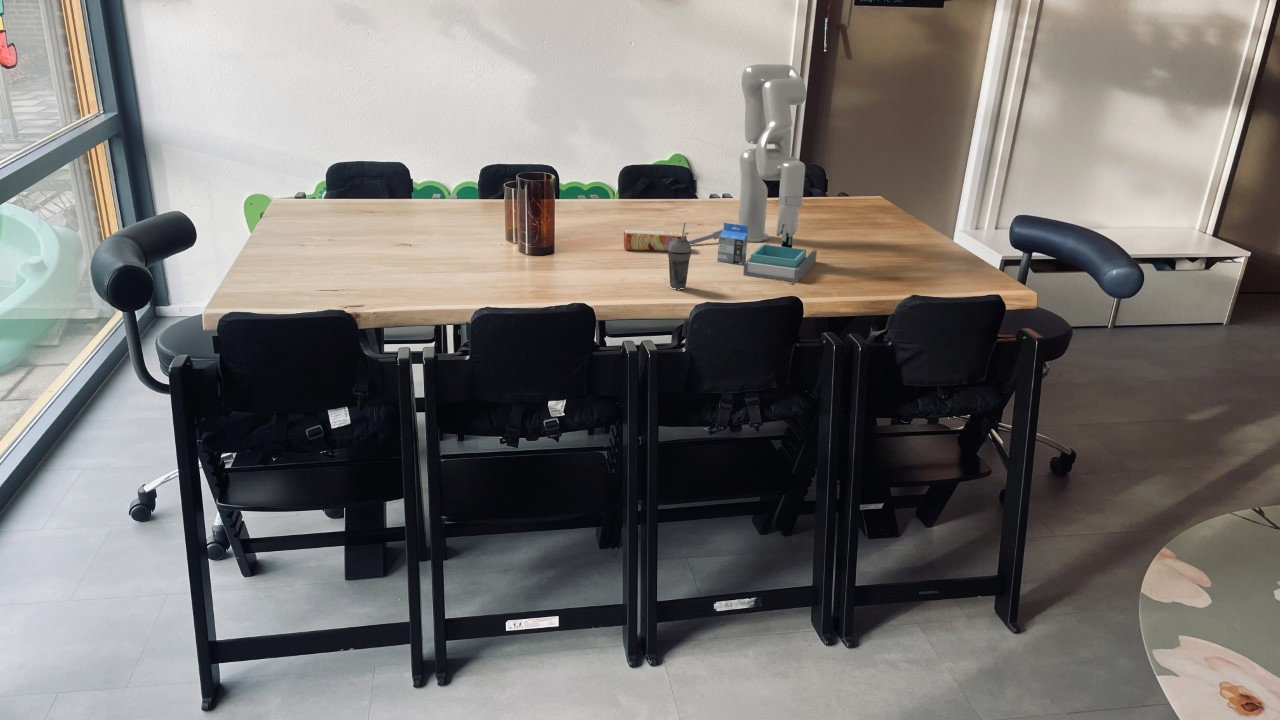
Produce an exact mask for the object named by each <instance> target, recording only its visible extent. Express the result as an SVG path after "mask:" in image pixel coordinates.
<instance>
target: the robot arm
mask: <svg viewBox="0 0 1280 720" xmlns="http://www.w3.org/2000/svg"><path fill="white" fill-rule="evenodd" d="M741 89H742V93H743V97H744V101H745V102H744V104H745V107H744V108H745V114H744V138H745V140H746V142H747V143H748V144H751V145H756V148H749V149H746V150H744V151H742V153H741V154H740V156H739V170H740V192H739V193H740V195H739V206H738V207H739V208H738V220H737V221H738V223H736V224H737V225H744V226H748V238H747V243H748V242H751V243H760V242H765V241H768V240H769V239H770V238H769V237H770V236H769V234H768V233H766V232H765V230H766V229H765V228H766V218H767V204H768V193H769V191H768V187H767V184H766V183H765V182H764V181H779V190H778V191H779V192H778V193H779V194H778V206H779V211H778V217H777V225H776V236H777V237H780V236H781V245H780V246H781V247H789V248H793V239H794V235H795V234H796V233H797V232H798V226H799V216H800V215H799V214H800V212H799V211H800V207H802V206H803V200H804V199H803V198H804V196H803V195H804V188H805V187H804V186H805V185H804V184H805V175H806V165H805V164H804V163H805V162H802V161H800V159H799V158H797V157H795V156H791V145H792V144H791V143H792V125H793V118H792V113H791V111H792V110H791V106H801V105H802V104H804V103H805V101H806V98H807V87H806V84H805V81H804V79H803V78H802V76H801V75H800V74H799V72H798V71H797V69H796V68H795V67H794V66H793V65H790V64H772V63H769V64H766V63H765V64H763V63H762V64H761V63H760V64H751V65H748V66H747V67H745V68H744V70H743V72H742V75H741ZM768 145H774V147H773V148H770V147H769V148H767V147H768ZM763 180H764V181H763ZM732 229H735V230H740V229H739V228H737V227H735V228H734V227H732Z"/></svg>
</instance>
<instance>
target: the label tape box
mask: <svg viewBox="0 0 1280 720" xmlns="http://www.w3.org/2000/svg"><path fill="white" fill-rule="evenodd" d="M737 224H738V223H728V222H723V229H724V230H723V231H722V233H721V234H720V236H719V239H718V246H717V247H718V249H717V257H716V258H717V260H716V261H717V262H723V263H729V264H735V265H741V266H742V265H744V263H745V262H746V261H747V249H748V247H747V246H748V241H747V238H748V226H744V225H737ZM732 227H734V228H735V227H737V228H739V229H740V230H735V229H732Z"/></svg>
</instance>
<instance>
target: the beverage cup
mask: <svg viewBox="0 0 1280 720" xmlns="http://www.w3.org/2000/svg"><path fill="white" fill-rule="evenodd" d="M686 224H687V223H686V222H684V223H683V227H682V231H681V232H682V237H676V238H674V239H673V240H671V242H670V243H669V246H668V250H667V251H666V252H667V256H668V265H669V266H668V270H669V284H670V285H669V286H671V287H672V288H676V289H680V288H685V289H686V285H687V281H688V280H687V279H688V271H689V267H690V266H689V265H690V259H691V255H692V245H690V243H689V241H688V240H689V239H685V238H683V236H684V233H685V229H686Z"/></svg>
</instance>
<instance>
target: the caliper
mask: <svg viewBox="0 0 1280 720" xmlns="http://www.w3.org/2000/svg"><path fill="white" fill-rule="evenodd" d="M723 230H724V228H721V229H718V230H714V231H712V232H711V233H708V234H705V235H703V236H699V237H695V238H692V239H687V240H688V241H689V243H690V244H692V245H695V244H697V243H700V242H704V241H708V240H711V239H713V240H719V236H720V234H721V233H722V231H723Z"/></svg>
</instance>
